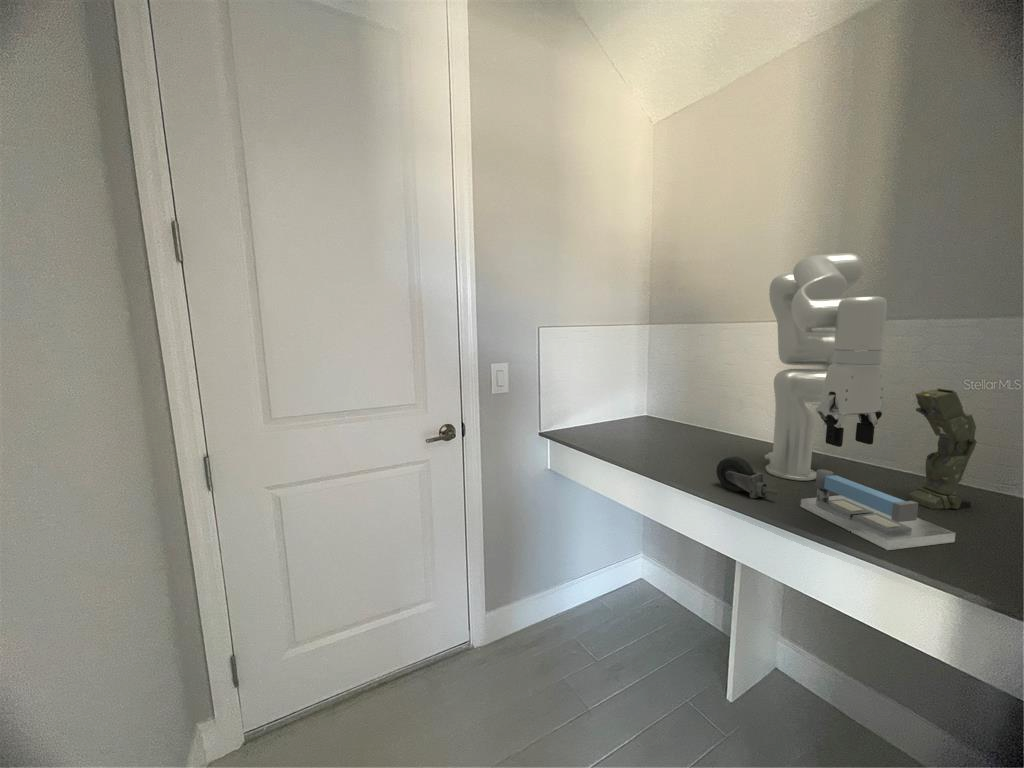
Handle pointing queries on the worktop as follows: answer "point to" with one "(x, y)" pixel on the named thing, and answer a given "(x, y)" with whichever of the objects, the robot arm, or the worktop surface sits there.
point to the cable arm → (867, 496)
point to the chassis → (876, 523)
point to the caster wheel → (742, 477)
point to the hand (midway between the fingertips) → (848, 443)
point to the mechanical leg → (945, 449)
